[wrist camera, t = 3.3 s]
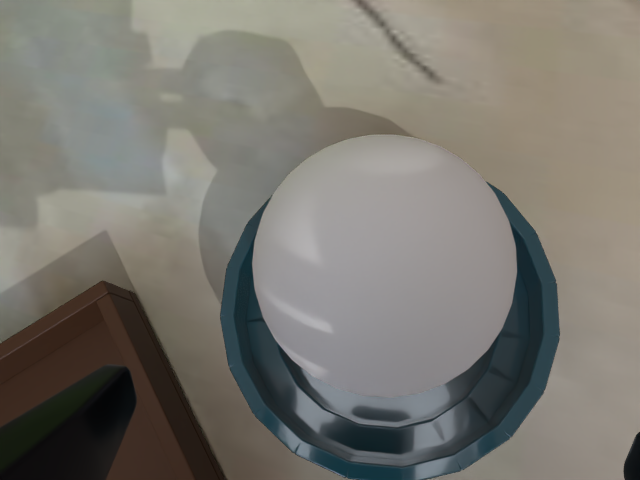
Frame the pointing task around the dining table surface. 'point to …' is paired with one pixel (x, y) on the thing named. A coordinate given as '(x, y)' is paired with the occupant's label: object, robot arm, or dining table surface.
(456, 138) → the dining table surface
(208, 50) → the dining table surface
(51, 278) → the dining table surface
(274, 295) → the lightbulb
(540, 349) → the bowl
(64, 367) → the tray
